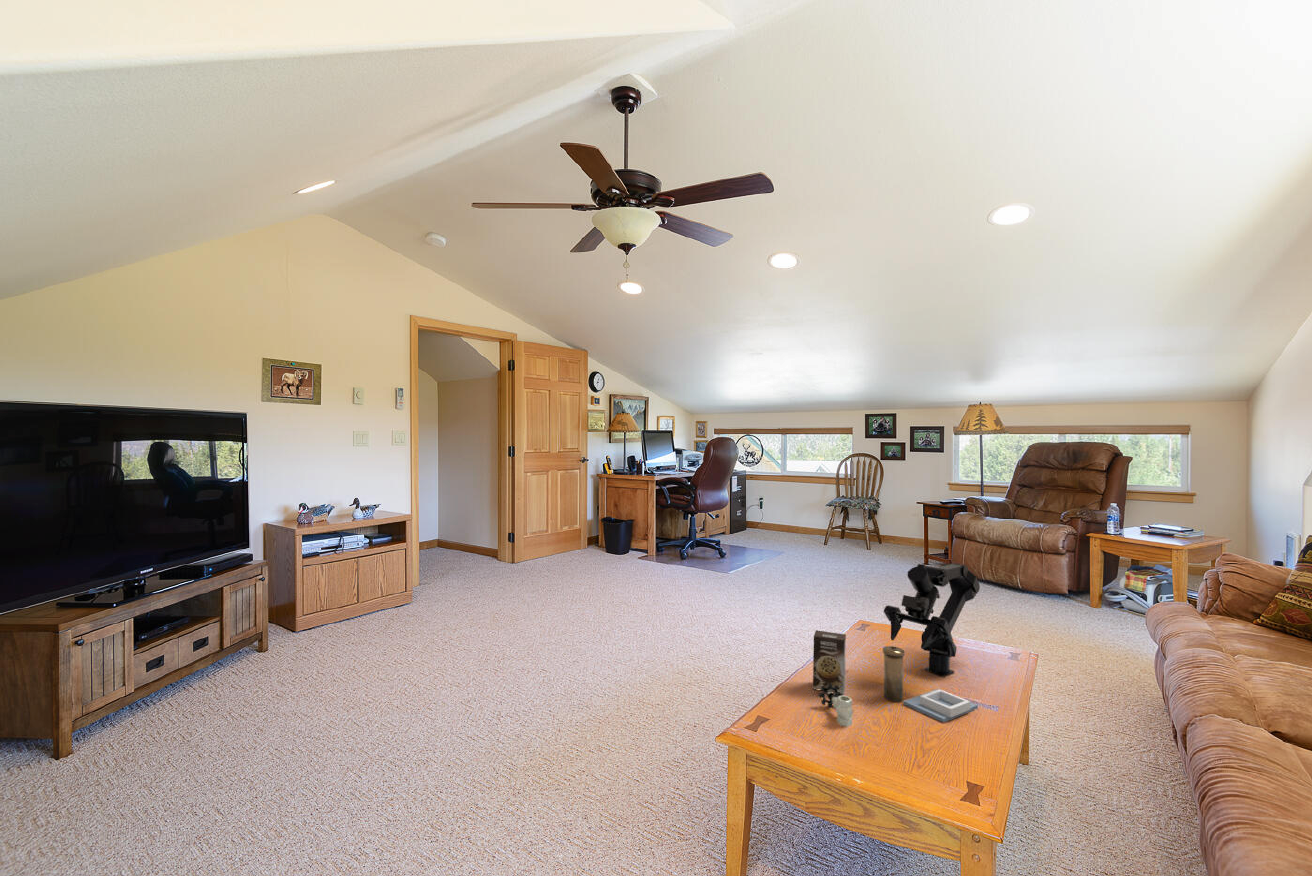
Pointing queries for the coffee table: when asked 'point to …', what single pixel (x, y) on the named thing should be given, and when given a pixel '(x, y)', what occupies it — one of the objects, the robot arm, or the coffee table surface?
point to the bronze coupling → (893, 673)
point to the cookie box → (829, 660)
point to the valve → (838, 704)
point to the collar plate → (940, 705)
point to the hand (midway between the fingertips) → (906, 643)
